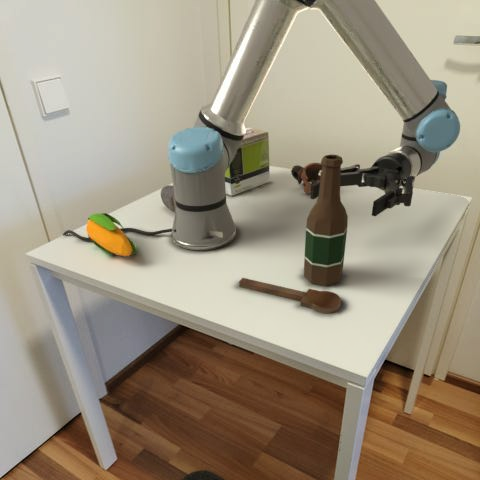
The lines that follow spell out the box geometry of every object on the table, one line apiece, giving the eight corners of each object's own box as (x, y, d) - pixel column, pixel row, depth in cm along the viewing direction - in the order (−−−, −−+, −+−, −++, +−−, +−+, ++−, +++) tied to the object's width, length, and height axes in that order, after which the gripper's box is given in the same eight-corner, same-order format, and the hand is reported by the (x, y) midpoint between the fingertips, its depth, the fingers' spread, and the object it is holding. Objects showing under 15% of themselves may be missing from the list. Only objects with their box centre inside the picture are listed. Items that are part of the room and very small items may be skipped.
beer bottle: (295, 277, 92) (300, 158, 77) (319, 263, 96) (327, 147, 82) (326, 291, 87) (337, 167, 73) (350, 275, 91) (364, 155, 77)
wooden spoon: (234, 291, 89) (234, 286, 88) (247, 277, 92) (247, 272, 92) (334, 316, 81) (335, 310, 80) (344, 300, 85) (344, 294, 84)
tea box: (248, 175, 141) (247, 125, 132) (270, 183, 135) (270, 131, 126) (210, 188, 134) (205, 136, 125) (231, 197, 128) (228, 143, 119)
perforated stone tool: (156, 206, 125) (152, 181, 120) (172, 201, 127) (169, 176, 123) (185, 223, 115) (182, 197, 111) (202, 217, 117) (199, 191, 113)
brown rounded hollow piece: (332, 185, 133) (337, 165, 125) (319, 209, 130) (324, 190, 122) (295, 170, 135) (298, 150, 127) (281, 193, 132) (283, 174, 124)
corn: (103, 201, 108) (142, 228, 95) (112, 230, 113) (150, 259, 100) (74, 212, 105) (110, 241, 92) (84, 241, 110) (120, 272, 97)
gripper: (448, 199, 93) (400, 236, 81) (343, 175, 107) (288, 203, 95) (457, 162, 88) (407, 196, 76) (346, 142, 102) (289, 168, 90)
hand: (341, 200), depth 85 cm, fingers open, 13 cm apart
